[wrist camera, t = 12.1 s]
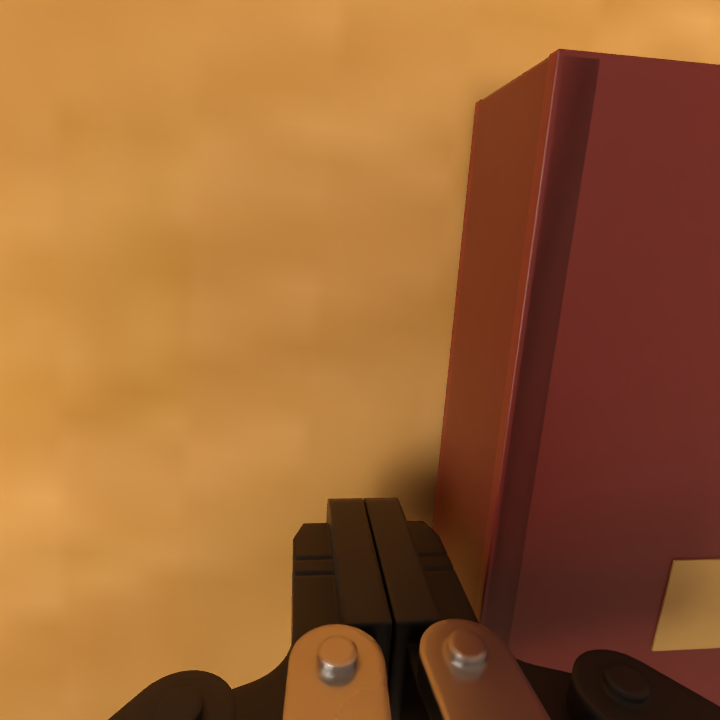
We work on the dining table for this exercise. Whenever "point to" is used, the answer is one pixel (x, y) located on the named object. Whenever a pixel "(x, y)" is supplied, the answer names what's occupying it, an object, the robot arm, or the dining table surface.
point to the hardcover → (590, 367)
